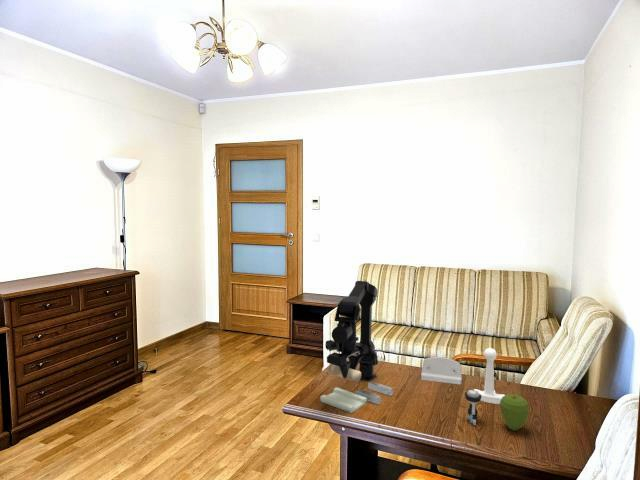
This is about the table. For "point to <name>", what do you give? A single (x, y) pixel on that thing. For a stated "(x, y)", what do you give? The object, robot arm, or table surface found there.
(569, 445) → the table surface
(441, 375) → the gray wall bracket
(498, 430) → the table surface
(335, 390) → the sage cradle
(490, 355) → the joystick
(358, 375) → the maple axle
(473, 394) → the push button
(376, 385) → the steel guide
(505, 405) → the apple
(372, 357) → the robot arm
